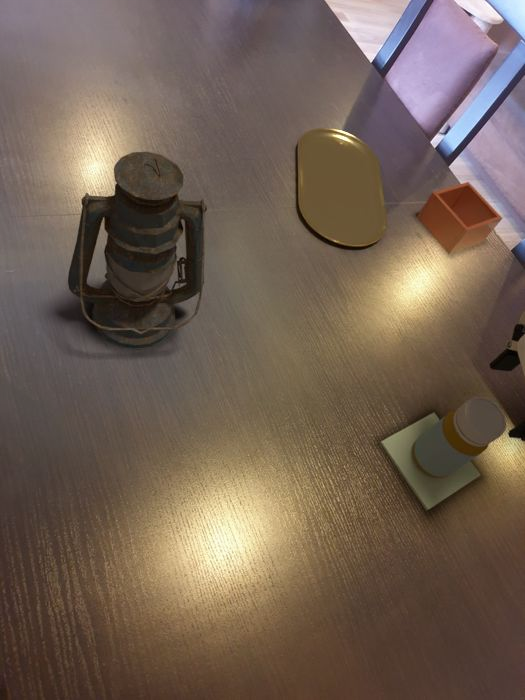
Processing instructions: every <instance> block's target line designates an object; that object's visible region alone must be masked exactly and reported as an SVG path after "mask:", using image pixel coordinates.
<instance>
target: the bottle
mask: <svg viewBox="0 0 525 700" xmlns="http://www.w3.org/2000/svg"><path fill="white" fill-rule="evenodd" d="M439 420H440V421H438V422H437V423H436V424H435V425H434V426H432V427H431V428H430V429H429V430H428V431H426V432H425V433H424V434H423V435H422V436H421V437H419V438H418V439H417V440H416V442H415V444H414V446H413V456H414V459H415V461H416V464H417V465H418V466H419V468H420V469H421V470H422V471H423V472H425V473H426V474H427V475H429V476H432V477H435V478H443V477H446V476H448V475H449V474H451V473H453V472H454V471H455V470H457V469H458V468H460V467H461V466H463V465H464V464H466V463H467V462H469V461H472V460H474V459H475V458H477V457H478V456H480V455H481V454H482V453H483V452H485V451H486V450H487V449H488V447H489V445H490V444H492V443H493V442H494V441H496V440H498V439H499V438H500V437H501V436H503V434H504V433H505V431H506V429H507V419H506V416H505V414H504V412H503V411H502V409H501V407H499V405H498V404H497V403H495V402H494V401H493V400H491V399H489V398H487V397H483V396H475V397H471V398H469V399H468V400H466V401H465V402H464V403H463V404H462V405H460V406H459V407H458V408H455V409H452V410H450V411H449V412H448V413H446V414H445V415H444V416H443V417H442V418H440V419H439Z"/></svg>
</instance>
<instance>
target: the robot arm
mask: <svg viewBox="0 0 525 700" xmlns="http://www.w3.org/2000/svg"><path fill="white" fill-rule="evenodd" d="M505 345H506V348H505V349H504V350H503V351H502V352H501V353H499V354H498V355H497V357H496V358H494V360H492V361H490V363H489V368H490V369H491V370H492V371H494V370H495V371H501V372H502V371H503V372H512V371H513V370H515V368H517V367H518V366H519V365H521V368H522V372H523V376H524V377H525V309H524V310H523V311H522V313H521V316H520V318H519V320H518V323H516V324H515V325H514V327H513V332H512V336H511V339H508V340H507V342H506V344H505ZM507 434H508V438H511V439H520V441H522V442H525V420H523V421H521V422H520V423H519V424H517V425H516V426H514V427H513V428H512V429H510V430H509V431H508V433H507Z"/></svg>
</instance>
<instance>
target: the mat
mask: <svg viewBox="0 0 525 700" xmlns="http://www.w3.org/2000/svg"><path fill="white" fill-rule="evenodd" d="M440 420H441V419H440V418H439V417H438V415H437V414H436V413H435V412H431V413H430V414H428V415H426V416H425V417H423V418H421V419H419V420H418V421H416V422H413V423H412V424H410V425H408V426H406V427H405V428H402V429H400V430H399V431H397V432H395V433H394V434H392V435H390V436H388V437H386V438H385V439H383V440H381V441H380V442H379V444H380V445H381V447H382V448H383V450H384V451H385V453H386V454H387V456H388V457H389V459H390V460H391V461H392V463H393V464H394V466H395V467H396V468H397V470H398V471H399V473H400V475H401V476H402V477H403V479H404V480H405V482H406V483H407V485H408V486H409V488H410V489H411V491H412V492H413V493H414V495H415V496H416V498H417V499H418V501H419V502H420V504H421V505H422V506H423V508H424V509H425V511H427V512H428V511H429V510H430V509H432V508H433V507H435V506H436V505H438V504H440V503H441V502H442V501H444V500H446V499H447V498H449V497H450V496H452V495H453V494H455V493H457V491H459V490H460V489H462V488H464V487H465V486H467V485H468V484H470V483H471V482H473V481H474V480H476V479H477V478H479V477H481V473H480V471H479V470H478V469H477V468H476V466H475V465H474V464H473V462H472V460H470V461H469V462H467V463H466V464H464V465H463V466H461V467H460V468H458V469H457V470H455V471H454V472H453V473H451V474H449V475H448V476H446V477H443V478H435V477H432V476H429V475H427V474H426V473H425V472H423V471H422V470H421V469H420V468H419V466H418V465H417V464H416V461H415V459H414V456H413V446H414V444H415V442H416V440H417V439H418V438H419V437H421V436H422V435H423V434H424V433H425V432H426V431H428V430H429V429H430V428H431V427H432V426H434V425H435V424H436V423H437V422H438V421H440Z"/></svg>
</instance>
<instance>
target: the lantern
mask: <svg viewBox="0 0 525 700" xmlns="http://www.w3.org/2000/svg"><path fill="white" fill-rule="evenodd" d="M113 176H114V181H115V183H116V184H115V185H114V195H108V196H106V195H105V196H102V195H90V193H88V192H85V195H84V196H83V197H82V198H81V199H80V200H81V206H82V208H81V213H80V218H79V223H78V230H77V236H76V242H75V245H74V249H73V253H72V257H71V261H70V265H69V268H68V269H69V270H68V274H67V286H68V290H69V291H70V292H71V293H72V294H73V295H75V296H77V297H78V298H79V300H80V305H81V311H82V314H83V315H84V318H86V319H87V321H88V322H89V323H90V324H92V325H94V326H95V329H96V330H97V332H98V333H99V334H100V336H101V337H102V338H103V339H104V340H106V341H107V342H109V343H111V344H113V345H115V346H117V347H119V348H123V349H128V350H129V349H130V350H145V349H148V348H153V347H156V346H157V345H159V344H160V343H162V342H164V341H165V340H167V338H168V337H169V336H170V335H171V333H172V331H173V330H177V329H180V328H182V327H184V326H186V325H188V324H189V323H190V322H191V321H192V320H193V319H194V318H195V317H196V315H198V312H199V309H200V305H201V300H202V295H203V294H202V293H203V287H204V284H205V219H206V212H207V210H208V207H207V204H206V201H205V200H204V198H201V199H200V201H197V200H183V199H180V197H179V192H180V191H181V189H182V188H183V187H184V174H183V173H182V171H181V169H180V167H179V166H178V164H177V163H175V162H173V160H170V159H169V158H168V157H166V156H164V155H163V154H159V153H155V152H152V151H151V152H150V151H135V152H130V153H128V154H126V155H124V156H121V157H120V158H119V159H118V160H117V162H115V164H114V167H113ZM103 220H104V221H103ZM182 220H183V221H184V226H183V223H182ZM102 223H103V224H104V227H103V228H104V231H105V232H106V233H107V238H106V244H105V246H104V250H103V253H104V254H103V255H104V260H105V263H106V264H105V271H106V273H105V274H104V278H105V279H106V280H105V281H103V283H102V284H101V286H100V288H96V287H93V286H90V284H89V283H88V277H89V273H90V269H91V265H92V261H93V257H94V255H95V251H96V246H97V241H98V238H99V234H100V231H101V226H102ZM183 233H184V236H185V239H184V240H185V257H184V256H181V257H179V259H178V256H177V248H178V246H177V243H178V241H179V240H180V238H181V236H182V235H183ZM183 265H184V266H183ZM176 267H177V268H176ZM175 269H176V270H177V280H175V281H174V282H173V285H172V287H171V289H170V288H169V286H168V284H169V282H170V280H171V278H172V276H173V274H174V271H175ZM183 270H184V272H183ZM183 273H184V274H183ZM183 275H184V277H183ZM177 284H178V287H177V288H175V287H176V286H177ZM180 284H184V285H180ZM197 295H198V300H197V304H196V306H195V309H194V313H193V315H192V316H191V317H189V318H188V319H186V320H185V321H183V322H182V323H180V324H178V325H175V323H176V308H175V306H174V305H175V304H180V303H183V302H186V301H188V300H189V299H192V298H193V297H195V296H197ZM84 301H86V302H89V303H91V304H93V307H92V312H91V316H92V319H91V318H90V317H89V314H87V312H86V308H85V303H84Z"/></svg>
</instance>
